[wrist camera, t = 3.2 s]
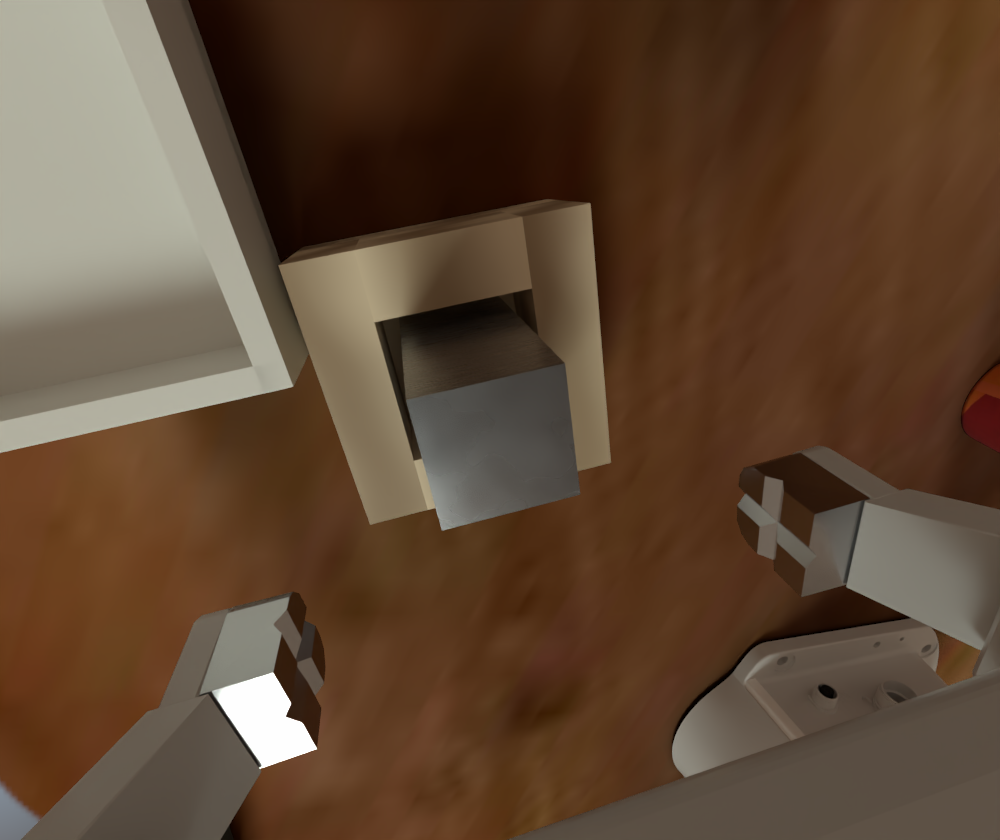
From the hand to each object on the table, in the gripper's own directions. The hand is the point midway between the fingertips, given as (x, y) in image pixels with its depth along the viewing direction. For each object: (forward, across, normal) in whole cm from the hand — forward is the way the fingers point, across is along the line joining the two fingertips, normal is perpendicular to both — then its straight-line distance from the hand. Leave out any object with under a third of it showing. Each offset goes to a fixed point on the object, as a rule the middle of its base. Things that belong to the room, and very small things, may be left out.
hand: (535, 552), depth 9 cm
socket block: (+15, 0, -1) cm, 15 cm away
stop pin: (+13, 0, -1) cm, 13 cm away
